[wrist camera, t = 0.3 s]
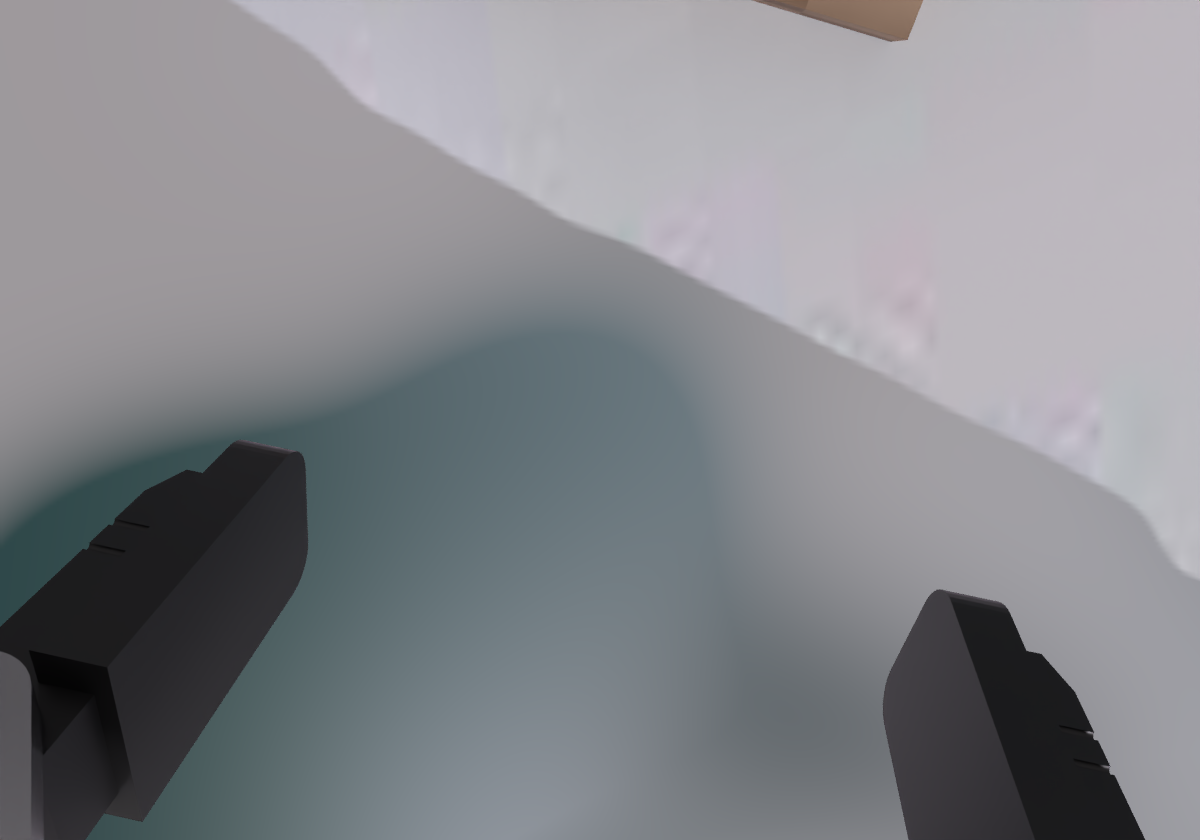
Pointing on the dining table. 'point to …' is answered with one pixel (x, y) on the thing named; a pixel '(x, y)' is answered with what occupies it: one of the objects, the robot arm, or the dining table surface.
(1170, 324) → the dining table surface
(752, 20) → the dining table surface
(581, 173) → the dining table surface
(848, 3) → the stand
